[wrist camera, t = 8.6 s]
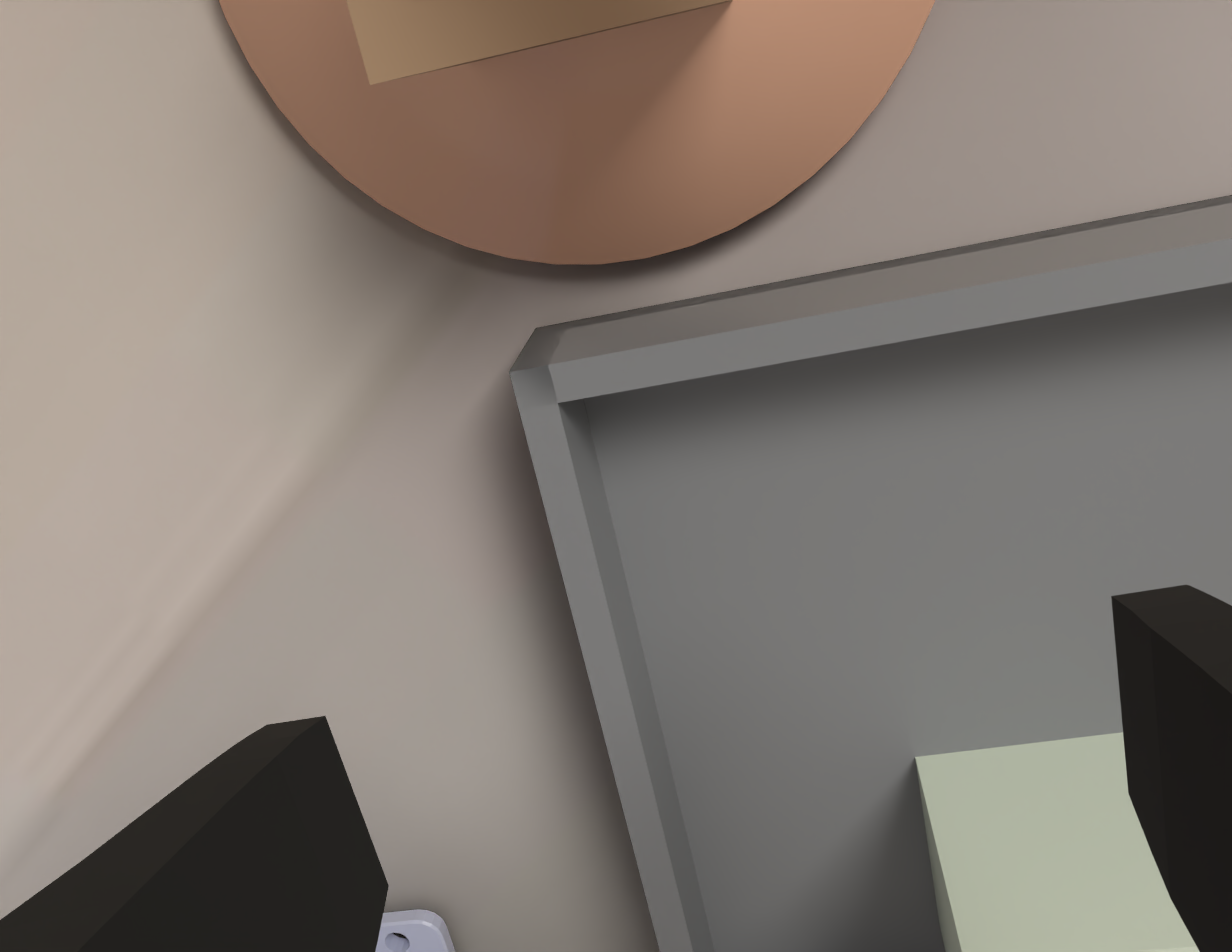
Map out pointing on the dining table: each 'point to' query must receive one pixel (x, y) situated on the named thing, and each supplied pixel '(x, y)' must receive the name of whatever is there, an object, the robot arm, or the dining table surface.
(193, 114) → the dining table surface
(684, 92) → the saucer
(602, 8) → the walnut block
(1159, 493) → the parts bin
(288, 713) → the dining table surface
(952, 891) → the sage block
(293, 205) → the dining table surface
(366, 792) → the dining table surface
